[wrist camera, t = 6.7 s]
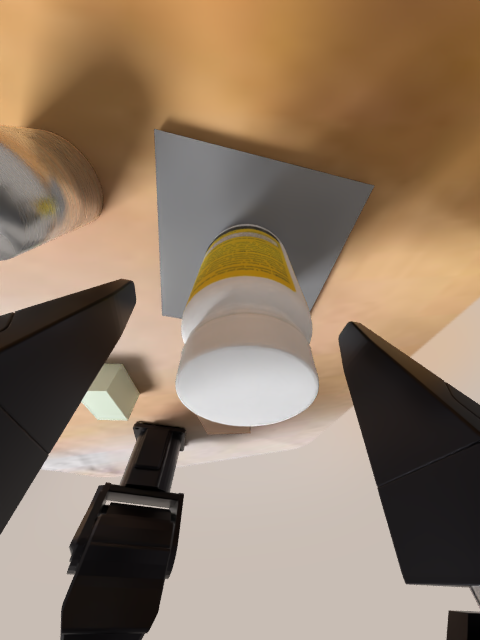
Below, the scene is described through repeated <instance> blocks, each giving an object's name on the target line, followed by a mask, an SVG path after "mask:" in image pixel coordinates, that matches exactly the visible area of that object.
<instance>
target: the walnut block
mask: <svg viewBox="0 0 480 640" xmlns="http://www.w3.org/2000/svg"><path fill="white" fill-rule="evenodd" d="M196 415H197V414H196ZM197 417H198V419H199V420H200V422H201V424H202V426H203V427H204V429H205V431H206V433H207V435H209V434H239V433H250V426H232V425H226V424H221V423H217V422H213V421H210V420H208V419H205V418H203V417H201V416H199V415H197Z"/></svg>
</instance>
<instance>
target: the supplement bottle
mask: <svg viewBox="0 0 480 640" xmlns="http://www.w3.org/2000/svg"><path fill="white" fill-rule="evenodd" d="M181 332H182V338H183V341H184V347H183V349H182V353H181V360H180V363H179V368H178V372H177V375H176V381H175V383H176V392H177V395H178V397H179V399H180V400H181V402H182V403H183V404H184V405H185V406H186V407H187V408H188V409H189V410H191V411H192V412H194V413H195V414H197V415H199V416H201V417H203V418H205V419H208V420H210V421H213V422H217V423H221V424H226V425H232V426H262V425H269V424H274V423H278V422H281V421H284V420H287V419H289V418H292V417H294V416H296V415H298V414H299V413H301V412H302V411H304V410H305V409H306V408H308V407H309V406H310V405H311V404H312V402H313V401H314V399H315V398H316V396H317V393H318V389H319V379H318V374H317V371H316V367H315V364H314V360H313V357H312V352H311V348H310V346H309V344H310V341H311V337H312V320H311V315H310V311H309V308H308V306H307V303H306V301H305V298H304V296H303V293H302V291H301V289H300V286H299V284H298V281H297V279H296V276H295V274H294V271H293V268H292V266H291V263H290V261H289V258H288V255H287V252H286V250H285V248H284V246H283V244H282V243H281V241H280V240H279V239H278V238H277V237H276V236H275V235H274V234H273V233H272V232H270V231H269V230H267V229H265V228H263V227H261V226H258V225H253V224H240V225H235V226H232V227H230V228H228V229H226V230H224V231H222V232H221V233H220V234H218V235H217V236H216V237H215V239H214V240H213V241H212V242H211V244H210V245H209V247H208V249H207V251H206V254H205V257H204V259H203V262H202V265H201V267H200V270H199V273H198V275H197V278H196V281H195V283H194V286H193V289H192V291H191V294H190V297H189V299H188V302H187V305H186V307H185V310H184V313H183V317H182V324H181Z"/></svg>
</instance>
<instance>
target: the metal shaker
mask: <svg viewBox="0 0 480 640" xmlns="http://www.w3.org/2000/svg"><path fill="white" fill-rule="evenodd" d="M102 207H103V193H102V188H101V185H100V182H99V179H98V177H97V175H96V173H95V171H94V169H93V168H92V166H91V165H90V163H89V162H88V160H87V159H86V158H85V157H84V155H83V154H82V153H81V152H80V151H79V150H78V149H77V148H76V147H75V146H74V145H72V144H71V143H70V142H68V141H67V140H66V139H64V138H62V137H61V136H59V135H57V134H55V133H53V132H49V131H46V130H41V129H32V128H23V127H14V126H5V125H0V261H1V260H7V259H11V258H13V257H15V256H18V255H20V254H22V253H24V252H27V251H29V250H31V249H33V248H36V247H38V246H40V245H42V244H45V243H47V242H49V241H51V240H53V239H56V238H58V237H60V236H62V235H65V234H67V233H69V232H71V231H74V230H76V229H78V228H80V227H83V226H85V225H87V224H89V223H91V222H93V221H95V220H96V219H97V218H98V216H99V215H100V213H101V211H102Z"/></svg>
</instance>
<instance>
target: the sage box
mask: <svg viewBox="0 0 480 640" xmlns="http://www.w3.org/2000/svg"><path fill="white" fill-rule="evenodd" d="M139 395H140V394H139V392H138V390H137V388H136V387H135V385H134V383H133V381H132V380H131V378H130V376H129V374H128V373H127V371H126V369H125V367H124V366H123V364H104V365H103V367H102V368H101V370H100V371H99V373H98V375H97V376H96V378H95V380H94V381H93V383H92V385H91V386H90V388H89V390H88V391H87V393H86V394H85V396H84V398H83V399H82V401H81V402H82V403H83V404H84V405H85V406H86V407H87V409H88V410H89V411H90V412H91V413H92V414H93V415H94V416H95V417H96V418H97V419H98V420H128V419H129V417H130V415H131V412H132V410H133V408H134V406H135V403H136V401H137V399H138V397H139Z"/></svg>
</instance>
